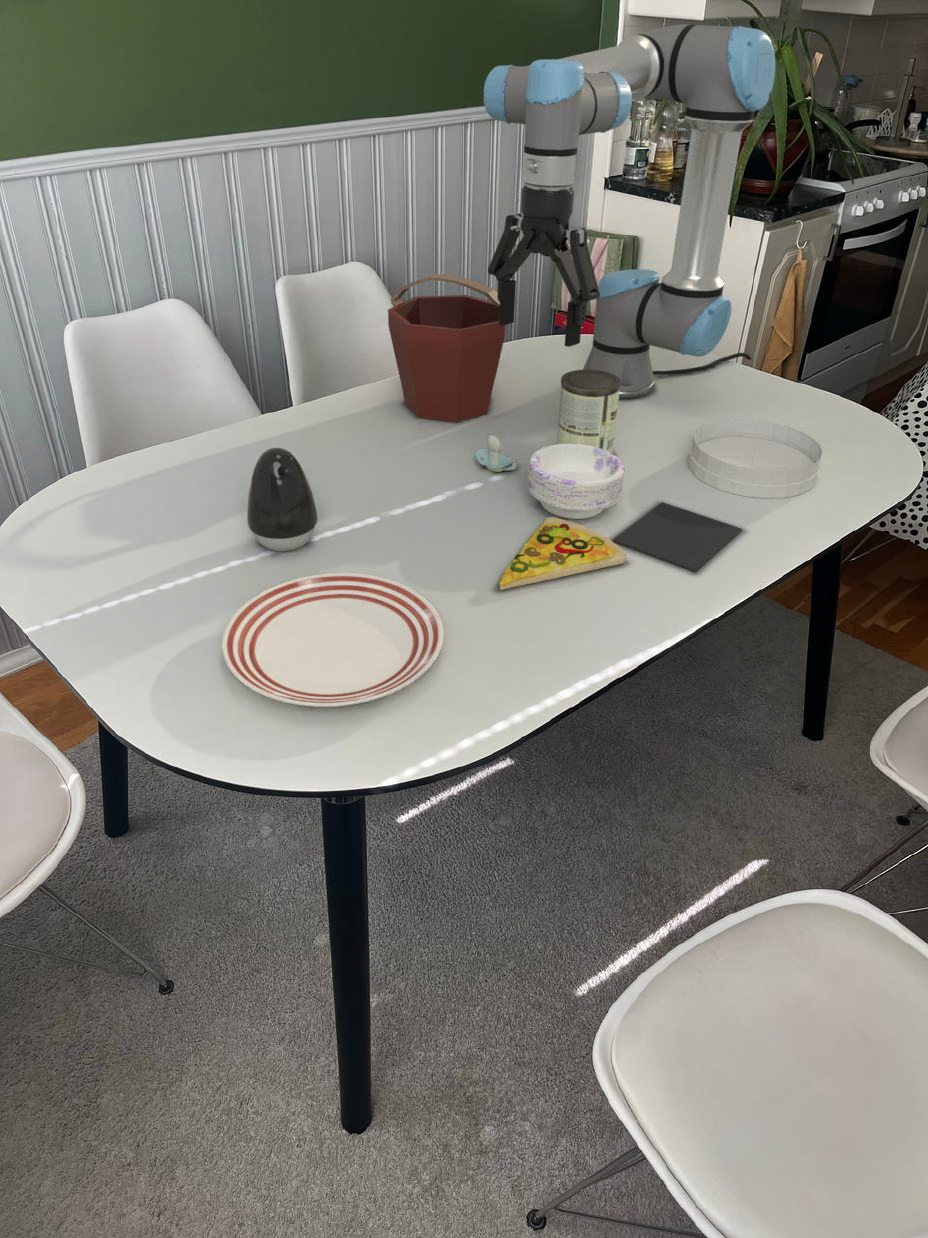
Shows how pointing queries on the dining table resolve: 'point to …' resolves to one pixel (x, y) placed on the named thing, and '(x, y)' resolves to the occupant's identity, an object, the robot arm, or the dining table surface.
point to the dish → (755, 458)
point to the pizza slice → (560, 553)
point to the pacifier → (494, 456)
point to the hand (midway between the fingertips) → (538, 333)
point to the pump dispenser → (280, 502)
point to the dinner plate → (332, 639)
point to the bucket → (447, 349)
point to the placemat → (678, 536)
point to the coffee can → (588, 408)
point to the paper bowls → (575, 479)
